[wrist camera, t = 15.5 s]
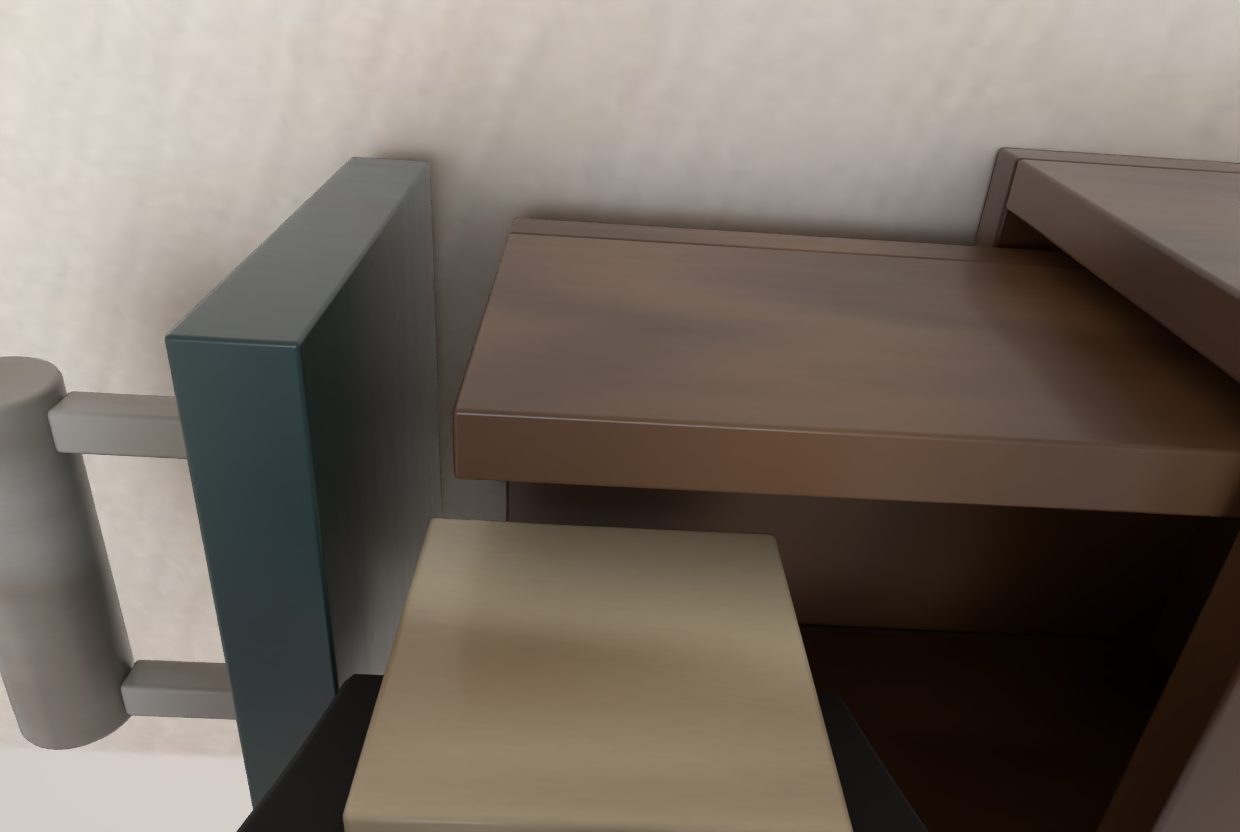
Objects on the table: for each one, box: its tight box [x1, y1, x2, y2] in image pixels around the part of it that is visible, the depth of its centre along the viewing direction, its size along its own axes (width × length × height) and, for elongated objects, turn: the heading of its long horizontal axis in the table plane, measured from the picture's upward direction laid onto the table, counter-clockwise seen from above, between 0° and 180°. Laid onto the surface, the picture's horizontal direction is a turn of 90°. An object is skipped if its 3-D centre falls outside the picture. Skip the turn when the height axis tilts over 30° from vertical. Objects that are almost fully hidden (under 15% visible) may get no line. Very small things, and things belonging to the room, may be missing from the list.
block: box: [343, 518, 853, 832], centre depth 10 cm, size 4×4×4 cm
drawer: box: [0, 157, 1240, 832], centre depth 14 cm, size 20×9×7 cm, turn 86°
